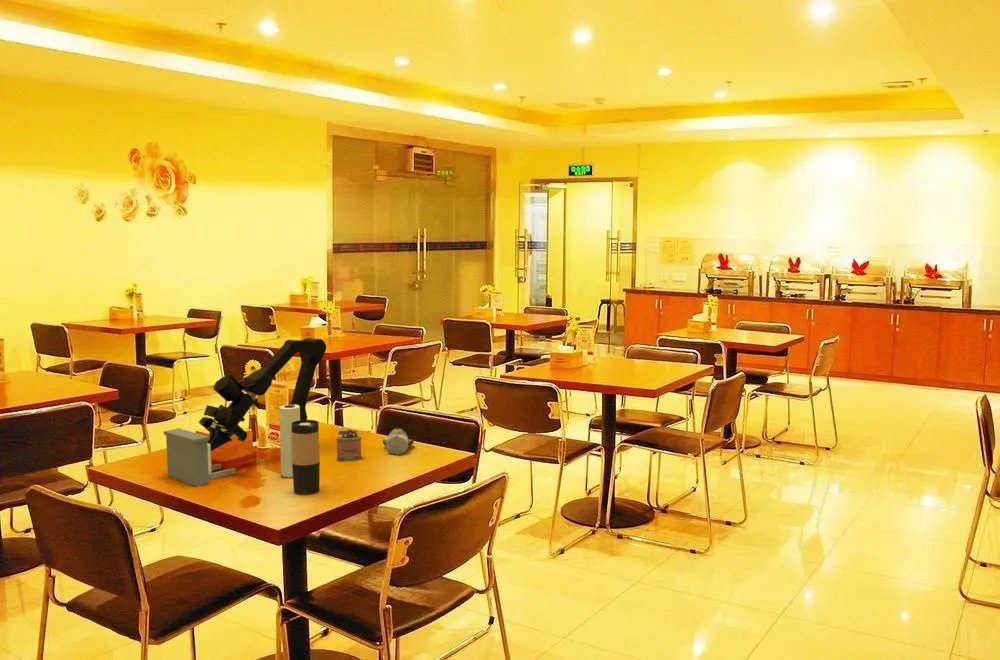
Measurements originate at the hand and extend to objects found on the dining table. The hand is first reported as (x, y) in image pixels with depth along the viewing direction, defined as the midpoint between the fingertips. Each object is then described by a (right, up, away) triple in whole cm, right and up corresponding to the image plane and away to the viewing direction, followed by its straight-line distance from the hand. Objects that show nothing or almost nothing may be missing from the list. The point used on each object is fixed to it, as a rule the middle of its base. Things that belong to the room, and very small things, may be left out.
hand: (206, 451), depth 262 cm
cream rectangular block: (-1, -7, -1) cm, 8 cm away
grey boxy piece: (-1, -7, 0) cm, 7 cm away
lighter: (+40, -5, +20) cm, 45 cm away
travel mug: (+34, -9, -15) cm, 38 cm away
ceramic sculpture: (+54, -4, +31) cm, 63 cm away
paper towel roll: (+26, -7, +2) cm, 27 cm away
